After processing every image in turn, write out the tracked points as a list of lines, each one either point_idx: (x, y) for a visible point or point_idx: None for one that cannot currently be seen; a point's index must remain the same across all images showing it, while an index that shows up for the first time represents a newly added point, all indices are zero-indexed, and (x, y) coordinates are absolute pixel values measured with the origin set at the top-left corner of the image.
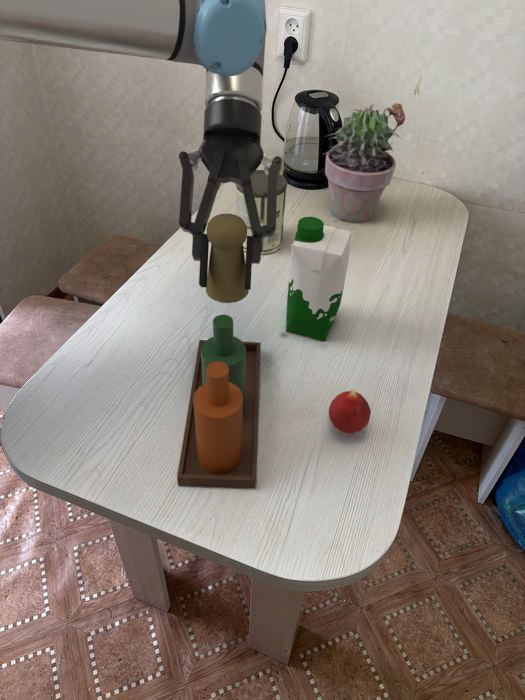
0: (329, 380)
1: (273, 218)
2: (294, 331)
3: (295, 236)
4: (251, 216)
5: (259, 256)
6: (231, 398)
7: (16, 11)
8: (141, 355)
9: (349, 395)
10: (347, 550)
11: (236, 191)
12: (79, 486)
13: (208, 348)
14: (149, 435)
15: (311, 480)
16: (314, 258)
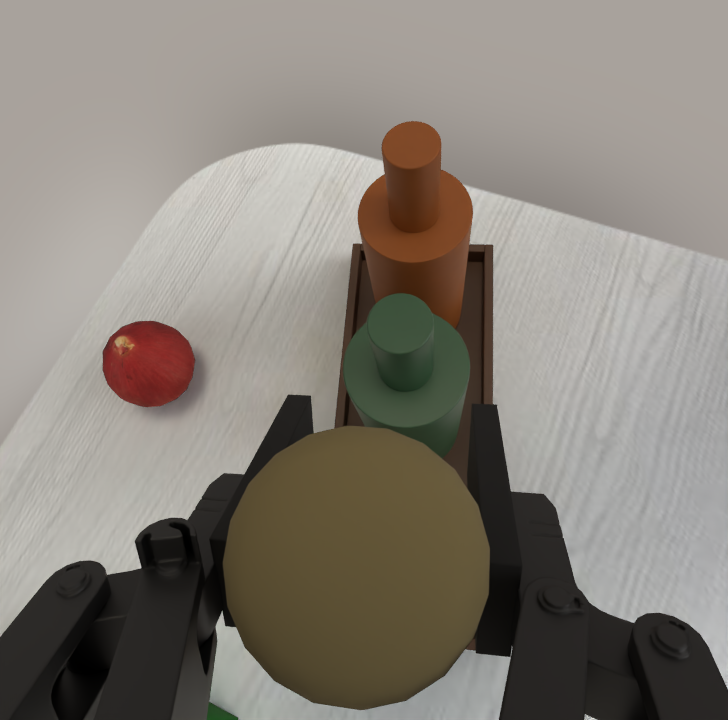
0: (168, 515)
1: (25, 629)
2: (213, 706)
3: None
4: (167, 654)
5: (213, 489)
6: (383, 212)
7: None
8: None
9: (130, 343)
10: (233, 176)
11: None
12: (669, 254)
13: (448, 367)
14: (566, 361)
15: (261, 275)
16: None
